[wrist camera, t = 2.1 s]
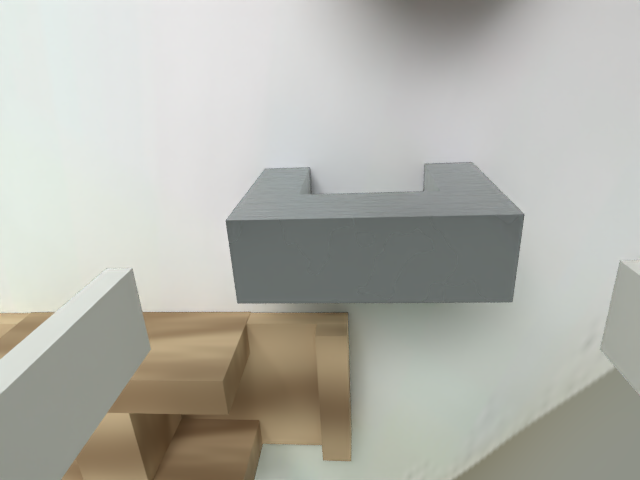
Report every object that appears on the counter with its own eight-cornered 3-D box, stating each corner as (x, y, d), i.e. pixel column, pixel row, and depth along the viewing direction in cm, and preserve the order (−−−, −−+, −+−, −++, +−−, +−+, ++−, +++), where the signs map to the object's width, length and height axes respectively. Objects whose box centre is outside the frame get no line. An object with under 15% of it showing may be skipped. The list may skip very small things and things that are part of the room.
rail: (-55, 312, 24) (-154, 376, 20) (347, 311, 22) (345, 382, 18) (-5, 424, 28) (-80, 503, 23) (351, 432, 26) (350, 519, 21)
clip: (264, 168, 20) (225, 220, 14) (472, 162, 19) (524, 214, 13) (271, 231, 21) (237, 303, 15) (466, 227, 20) (512, 302, 14)
